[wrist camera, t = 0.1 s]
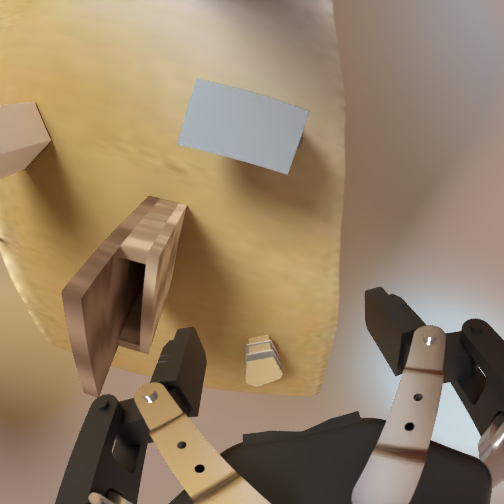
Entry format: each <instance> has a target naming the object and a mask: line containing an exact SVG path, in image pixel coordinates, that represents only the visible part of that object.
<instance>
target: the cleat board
mask: <svg viewBox="0 0 504 504" xmlns="http://www.w3.org/2000/svg"><path fill="white" fill-rule="evenodd" d="M186 207H187V205H184V204H180V203H176V202H172V201H168V200H164V199H160V198H156V197H151V196H148V197H147V198H146V199H145V200H144V201H143V202H142V203H141V204H140V205H139V206H138V207H137V208H136V209H135V210H134V211H133V212H132V213H131V214H130V215H129V216H128V217H127V218H126V219H125V220H124V221H123V222H122V223H121V224H120V225H119V226H118V227H117V228H116V229H115V230H114V231H113V232H112V234H111V235H110V236H109V237H108V238H107V239H106V240H105V241H104V242H103V243H102V244H101V245H100V247H99V248H98V249H97V250H96V251H95V252H94V253H93V254H92V256H91V257H90V258H89V259H88V260H87V261H86V262H85V264H84V265H83V266H82V267H81V268H80V269H79V271H78V272H77V273H76V274H75V275H74V277H73V278H72V279H71V280H70V282H69V283H68V284H67V285H66V287H65V288H64V289H63V290H62V298H63V305H64V311H65V317H66V323H67V328H68V333H69V338H70V342H71V347H72V351H73V355H74V359H75V363H76V367H77V370H78V374H79V377H80V381H81V384H82V387H83V390H84V393H87V394H89V395H92V396H95V397H99V395H100V393H101V390H102V387H103V384H104V381H105V379H106V376H107V373H108V371H109V368H110V366H111V363H112V360H113V358H114V355H115V353H116V350H117V348H118V346H122V347H125V348H129V349H132V350H135V351H139V352H143V353H146V354H149V351H150V348H151V344H152V341H153V338H154V335H155V332H156V328H157V325H158V322H159V319H160V316H161V313H162V310H163V307H164V304H165V301H166V298H167V295H168V292H169V289H170V286H171V282H172V276H173V270H174V265H175V260H176V254H177V249H178V244H179V239H180V234H181V230H182V225H183V220H184V216H185V211H186Z"/></svg>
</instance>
